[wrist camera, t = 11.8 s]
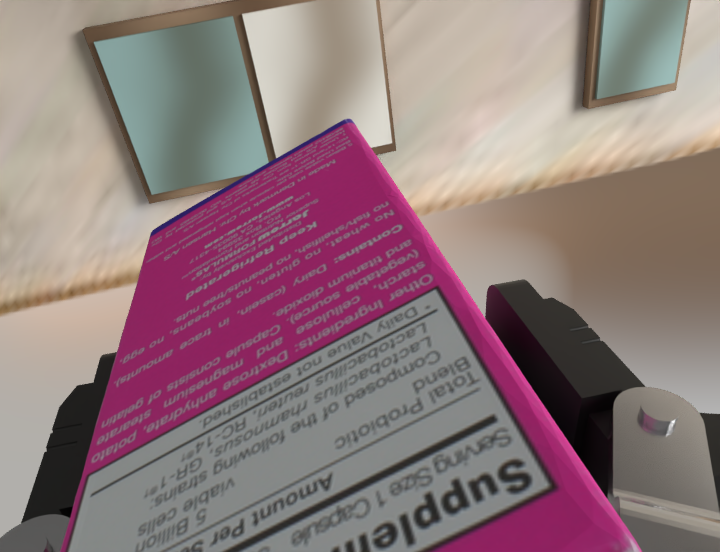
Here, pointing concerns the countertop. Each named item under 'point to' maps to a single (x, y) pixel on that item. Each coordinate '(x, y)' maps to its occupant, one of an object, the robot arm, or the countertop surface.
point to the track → (310, 79)
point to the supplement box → (322, 388)
